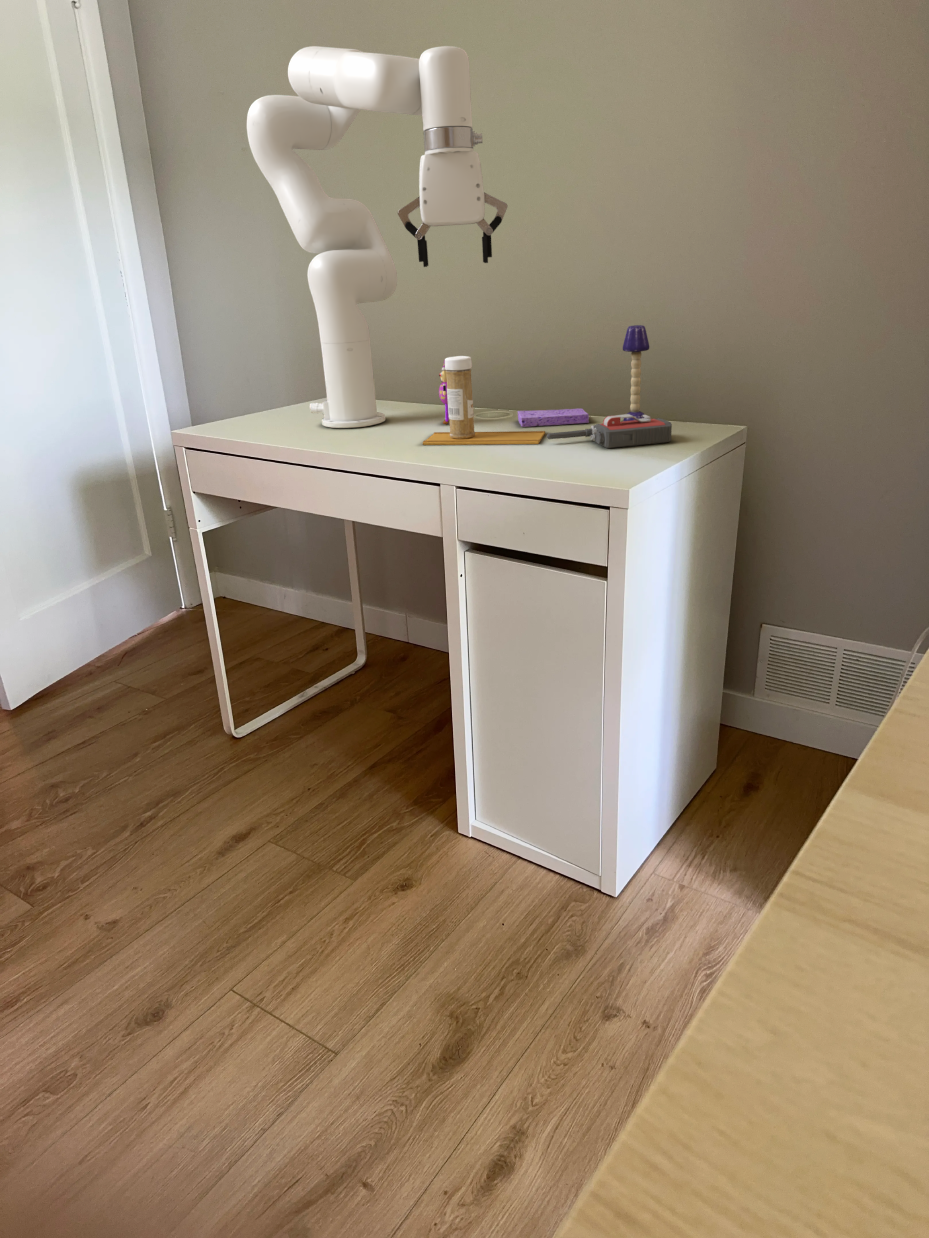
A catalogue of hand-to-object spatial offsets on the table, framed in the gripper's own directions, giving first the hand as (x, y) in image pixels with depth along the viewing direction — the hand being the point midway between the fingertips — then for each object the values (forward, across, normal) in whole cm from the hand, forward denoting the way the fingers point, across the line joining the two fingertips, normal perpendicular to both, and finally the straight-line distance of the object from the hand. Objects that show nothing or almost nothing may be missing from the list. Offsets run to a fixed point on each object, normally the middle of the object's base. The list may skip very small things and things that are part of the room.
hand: (455, 264), depth 137 cm
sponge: (+28, -16, -13) cm, 35 cm away
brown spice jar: (+28, +1, -1) cm, 28 cm away
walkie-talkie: (+29, -24, +9) cm, 38 cm away
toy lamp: (+29, -31, -8) cm, 43 cm away
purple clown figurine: (+28, +3, -17) cm, 33 cm away
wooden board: (+28, -3, 0) cm, 28 cm away
